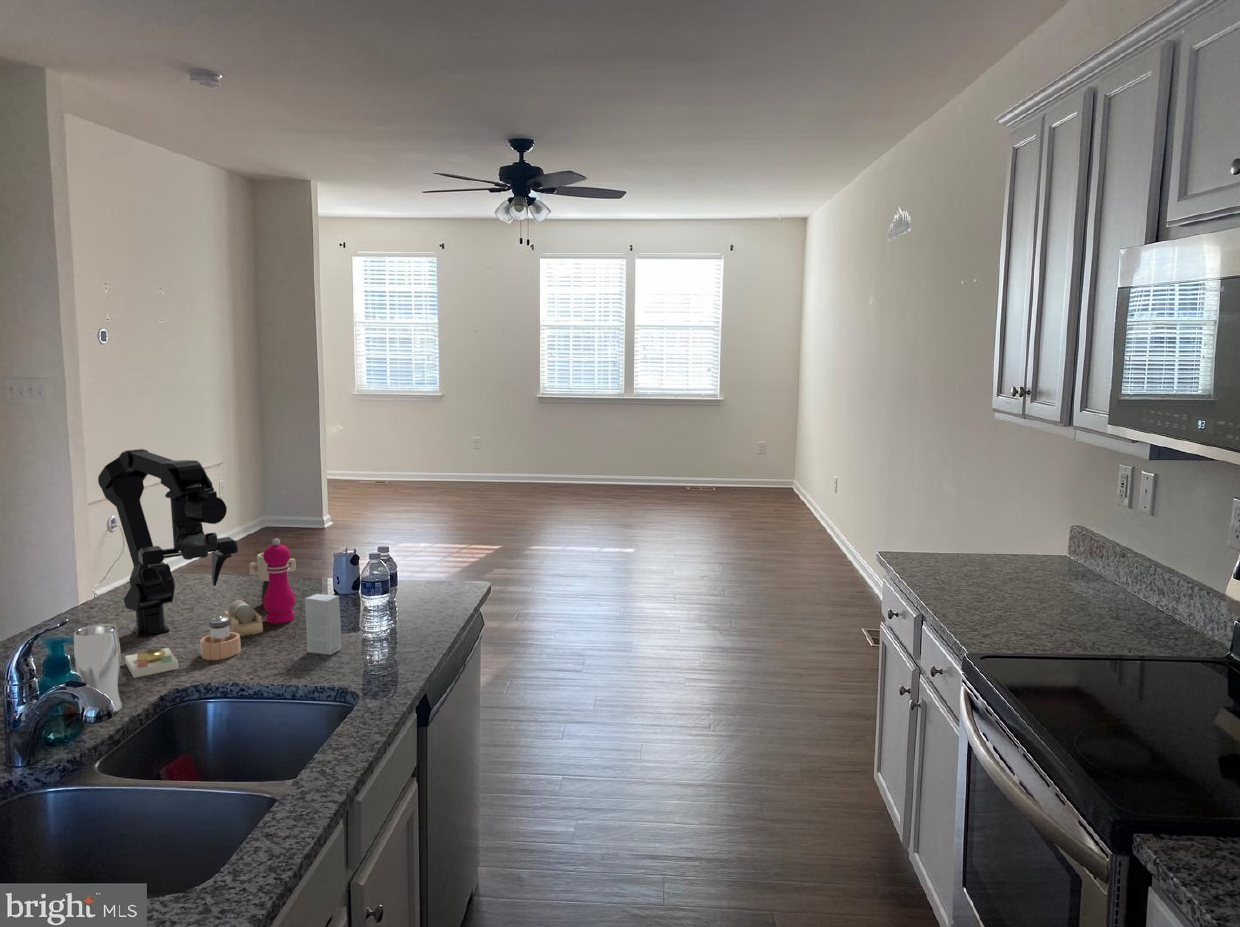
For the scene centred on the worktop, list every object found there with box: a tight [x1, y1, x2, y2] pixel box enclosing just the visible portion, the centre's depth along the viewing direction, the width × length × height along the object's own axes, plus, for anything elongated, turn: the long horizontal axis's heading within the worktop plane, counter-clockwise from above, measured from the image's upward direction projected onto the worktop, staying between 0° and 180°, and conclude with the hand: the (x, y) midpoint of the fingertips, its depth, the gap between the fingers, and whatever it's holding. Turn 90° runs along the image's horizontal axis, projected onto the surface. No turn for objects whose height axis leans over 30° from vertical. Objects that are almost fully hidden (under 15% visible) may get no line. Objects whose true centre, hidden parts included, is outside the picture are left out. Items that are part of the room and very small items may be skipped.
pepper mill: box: [262, 538, 296, 625], centre depth 202 cm, size 7×7×20 cm
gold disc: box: [137, 648, 165, 662], centre depth 173 cm, size 5×5×1 cm
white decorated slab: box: [124, 647, 180, 679], centre depth 174 cm, size 10×8×2 cm
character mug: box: [248, 552, 297, 603], centre depth 216 cm, size 11×7×13 cm, turn 116°
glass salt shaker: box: [208, 615, 230, 643], centre depth 180 cm, size 4×4×8 cm
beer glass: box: [73, 623, 123, 713], centre depth 151 cm, size 7×7×15 cm
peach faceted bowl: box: [199, 632, 242, 661], centre depth 181 cm, size 8×8×4 cm
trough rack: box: [223, 599, 264, 637], centre depth 196 cm, size 10×6×6 cm, turn 38°
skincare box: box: [304, 593, 343, 656], centre depth 182 cm, size 6×4×12 cm
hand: (191, 589), depth 185 cm, fingers open, 9 cm apart
